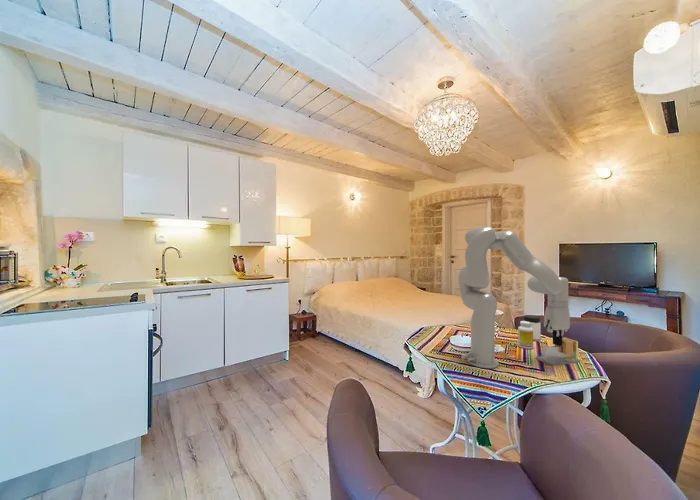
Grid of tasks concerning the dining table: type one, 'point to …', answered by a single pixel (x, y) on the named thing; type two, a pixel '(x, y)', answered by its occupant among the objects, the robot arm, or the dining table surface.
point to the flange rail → (559, 355)
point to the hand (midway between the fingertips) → (557, 344)
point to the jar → (534, 325)
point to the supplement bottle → (525, 335)
